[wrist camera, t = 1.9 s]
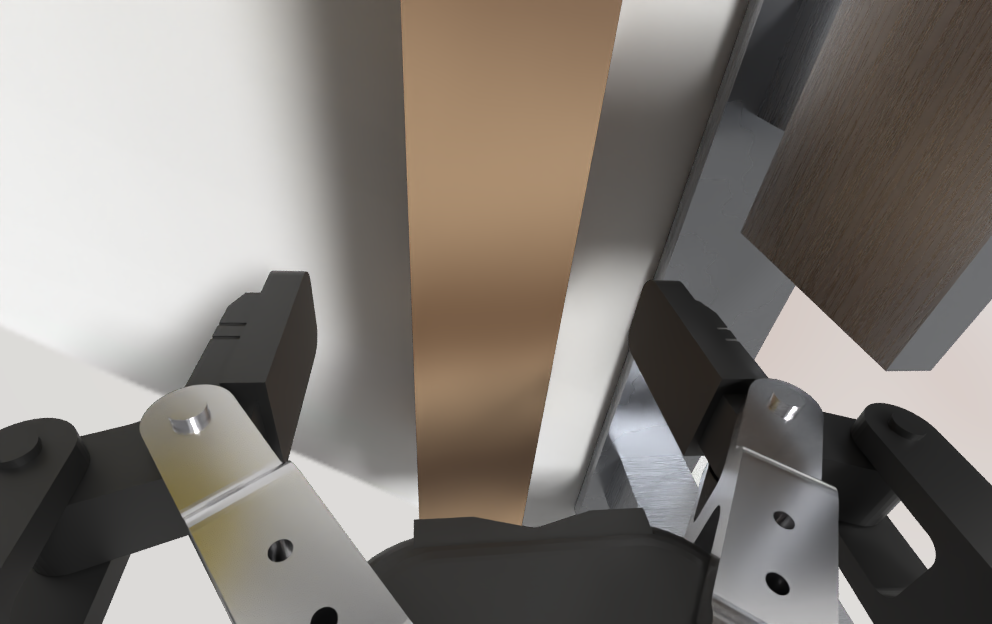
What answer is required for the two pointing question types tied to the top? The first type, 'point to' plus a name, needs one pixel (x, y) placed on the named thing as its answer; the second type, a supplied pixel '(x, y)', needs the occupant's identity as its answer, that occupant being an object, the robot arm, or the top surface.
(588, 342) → the top surface
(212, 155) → the top surface
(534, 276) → the rail
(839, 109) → the bracket stand
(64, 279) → the top surface
